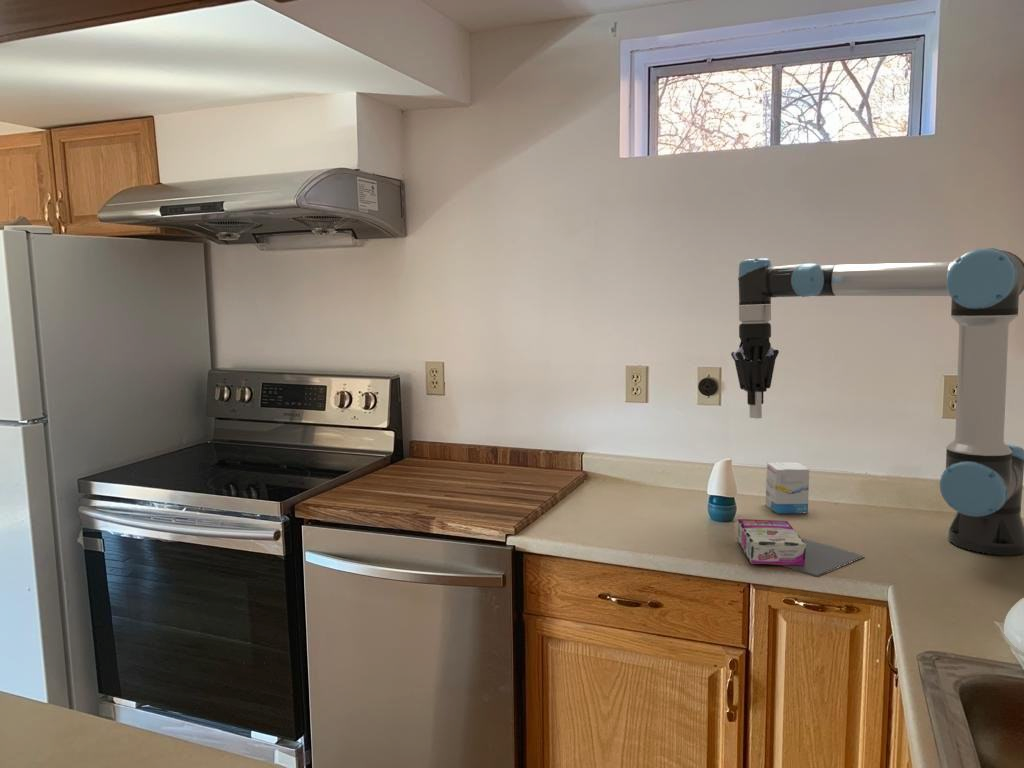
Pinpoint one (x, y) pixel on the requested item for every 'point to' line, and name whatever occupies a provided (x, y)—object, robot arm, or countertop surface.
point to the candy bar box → (771, 542)
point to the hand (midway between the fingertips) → (755, 417)
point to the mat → (822, 558)
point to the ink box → (787, 487)
